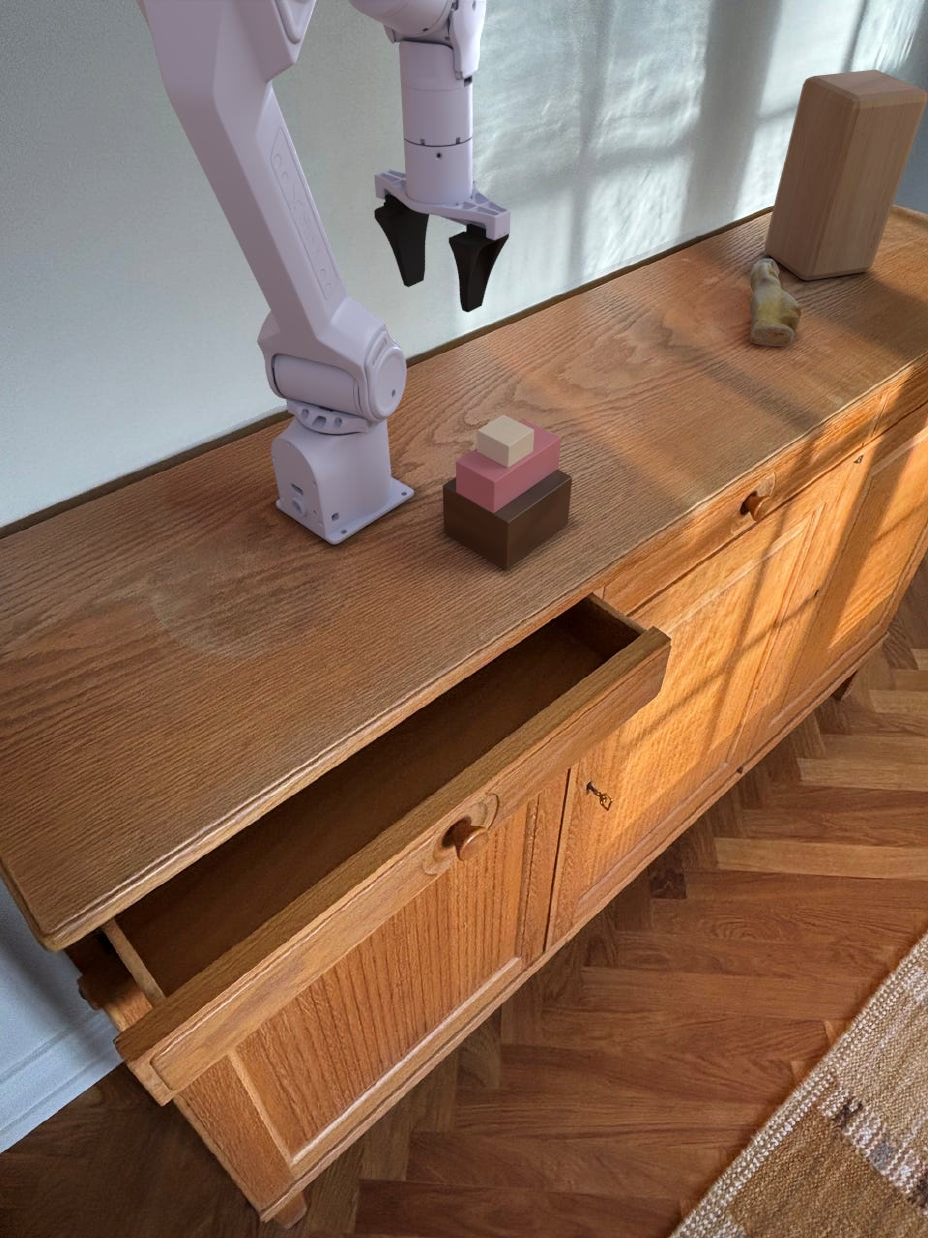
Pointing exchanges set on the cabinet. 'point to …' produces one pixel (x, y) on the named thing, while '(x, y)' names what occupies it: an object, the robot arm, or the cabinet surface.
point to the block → (842, 171)
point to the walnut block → (509, 520)
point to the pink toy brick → (506, 462)
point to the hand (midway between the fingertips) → (442, 295)
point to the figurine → (771, 307)
